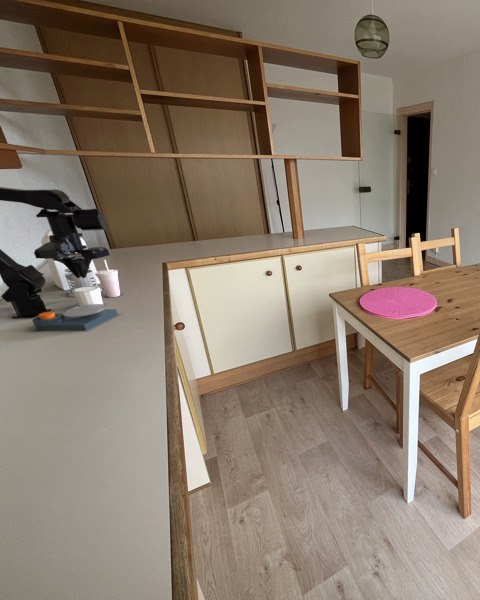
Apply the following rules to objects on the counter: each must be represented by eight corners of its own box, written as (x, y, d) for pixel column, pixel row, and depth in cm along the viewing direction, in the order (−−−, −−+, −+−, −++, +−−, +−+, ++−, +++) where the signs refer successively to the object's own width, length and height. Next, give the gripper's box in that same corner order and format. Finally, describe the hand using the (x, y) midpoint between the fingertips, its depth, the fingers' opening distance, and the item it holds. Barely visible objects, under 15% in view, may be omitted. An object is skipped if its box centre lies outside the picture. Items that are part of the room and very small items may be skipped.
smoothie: (128, 294, 122) (118, 259, 117) (110, 299, 117) (98, 263, 112) (117, 292, 124) (106, 257, 119) (98, 297, 119) (86, 261, 114)
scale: (30, 332, 92) (26, 321, 90) (72, 314, 104) (68, 304, 103) (83, 332, 93) (78, 321, 91) (117, 314, 105) (114, 304, 103)
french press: (73, 298, 117) (47, 231, 108) (63, 292, 122) (38, 228, 113) (106, 291, 125) (85, 228, 116) (95, 286, 130) (75, 225, 121)
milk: (101, 283, 134) (80, 221, 124) (64, 290, 125) (38, 224, 115) (91, 278, 140) (71, 218, 130) (55, 284, 131) (30, 221, 121)
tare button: (37, 320, 92) (35, 315, 91) (47, 316, 95) (45, 311, 94) (48, 320, 92) (46, 315, 92) (59, 316, 95) (57, 311, 95)
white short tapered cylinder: (89, 312, 106) (82, 292, 103) (73, 310, 107) (66, 291, 104) (110, 305, 112) (104, 286, 110) (95, 303, 113) (89, 284, 111)
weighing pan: (53, 317, 94) (52, 316, 93) (82, 304, 103) (82, 303, 103) (88, 317, 94) (87, 316, 94) (114, 304, 103) (114, 303, 103)
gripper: (5, 234, 92) (26, 285, 97) (71, 235, 93) (89, 285, 98) (44, 229, 102) (61, 274, 108) (103, 230, 103) (117, 275, 109)
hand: (81, 277), depth 105 cm, fingers closed
